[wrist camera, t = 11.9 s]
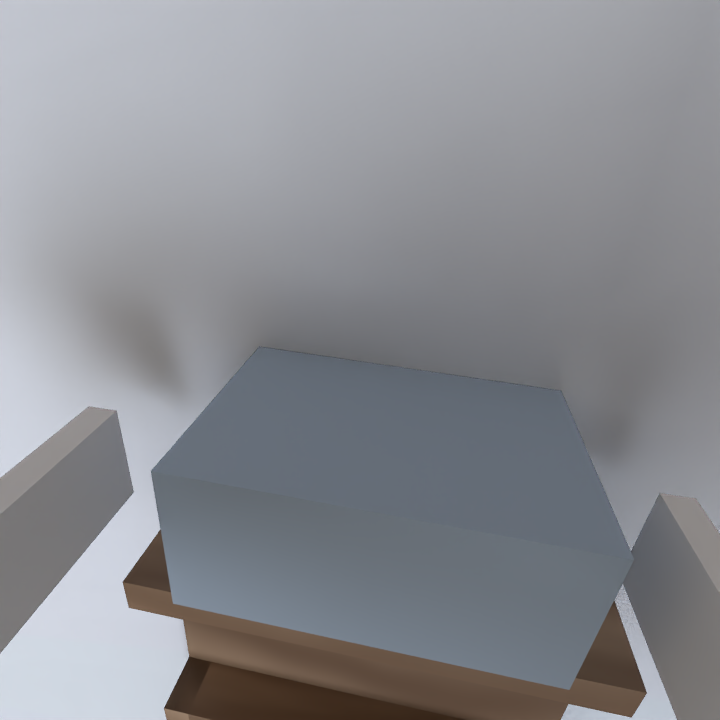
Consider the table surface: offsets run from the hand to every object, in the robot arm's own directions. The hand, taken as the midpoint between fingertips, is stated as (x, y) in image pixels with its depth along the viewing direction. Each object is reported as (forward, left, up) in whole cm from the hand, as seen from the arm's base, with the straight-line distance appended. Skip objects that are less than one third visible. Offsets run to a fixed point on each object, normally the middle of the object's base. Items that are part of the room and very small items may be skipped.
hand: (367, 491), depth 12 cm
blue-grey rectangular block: (0, 0, -4) cm, 4 cm away
